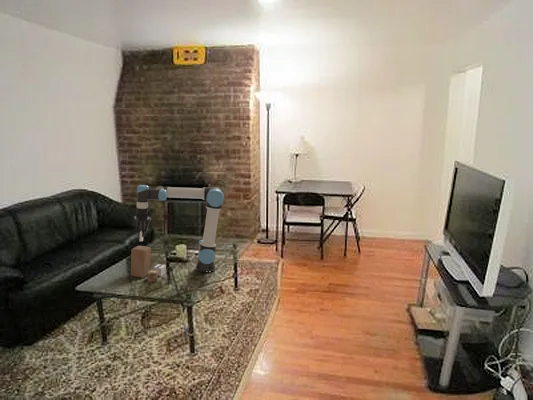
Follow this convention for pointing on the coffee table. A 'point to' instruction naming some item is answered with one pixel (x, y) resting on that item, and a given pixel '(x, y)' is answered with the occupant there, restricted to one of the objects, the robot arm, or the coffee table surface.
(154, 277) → the marked walnut cube
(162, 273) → the striped grey block
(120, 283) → the coffee table surface
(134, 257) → the block
